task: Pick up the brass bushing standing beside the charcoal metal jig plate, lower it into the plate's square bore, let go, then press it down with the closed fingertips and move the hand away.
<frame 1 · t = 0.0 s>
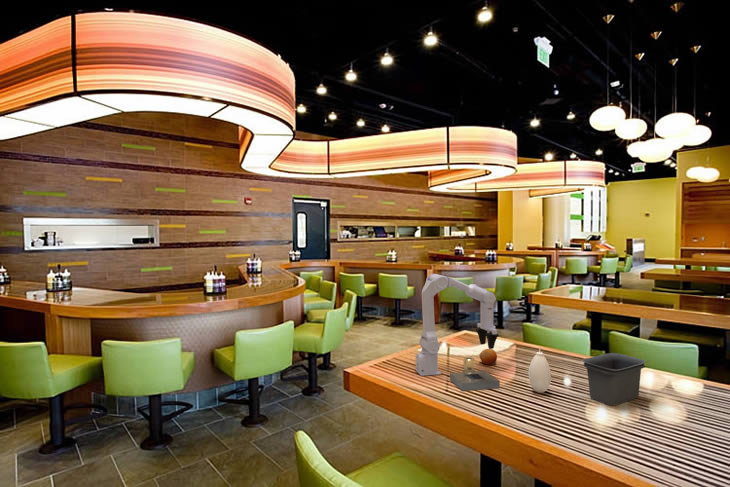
hand: (486, 346, 180), 10 cm above the table, tool pointing down, fingers open, 7 cm apart
fruit: (488, 363, 187), on the table
jig: (474, 383, 160), on the table
bushing: (468, 374, 172), on the table
storage bin: (611, 398, 146), on the table
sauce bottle: (539, 392, 152), on the table
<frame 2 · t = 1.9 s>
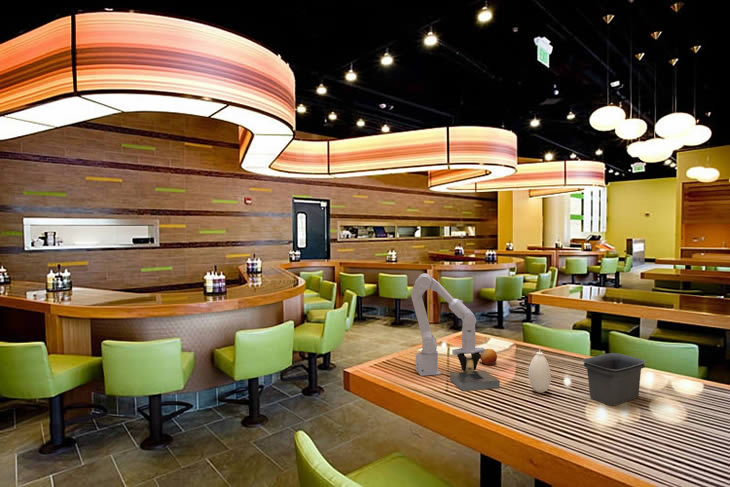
hand: (468, 370, 172), 2 cm above the table, tool pointing down, fingers closed on bushing, 4 cm apart
bushing: (468, 374, 172), on the table, touching gripper
everything else where it was.
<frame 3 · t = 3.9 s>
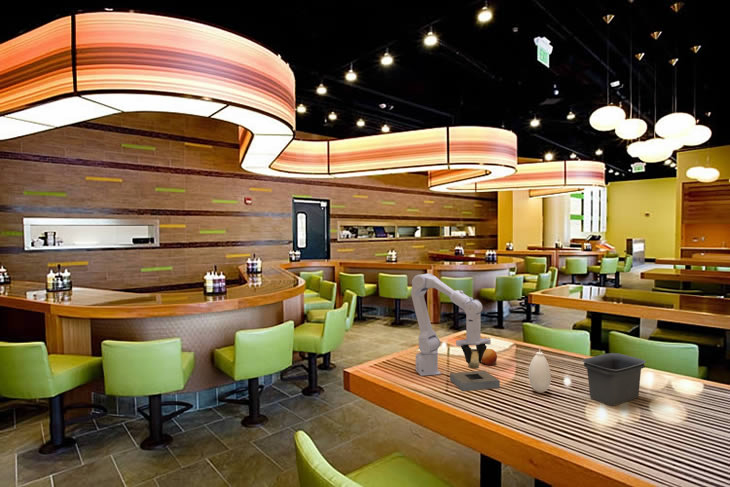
hand: (473, 362, 162), 8 cm above the table, tool pointing down, fingers closed on bushing, 4 cm apart
bushing: (473, 366, 162), point 7 cm above the table, touching gripper
everything else where it was.
when the fingers open (4 cm above the table, at t = 6.0 s): bushing drops 2 cm, resting in jig.
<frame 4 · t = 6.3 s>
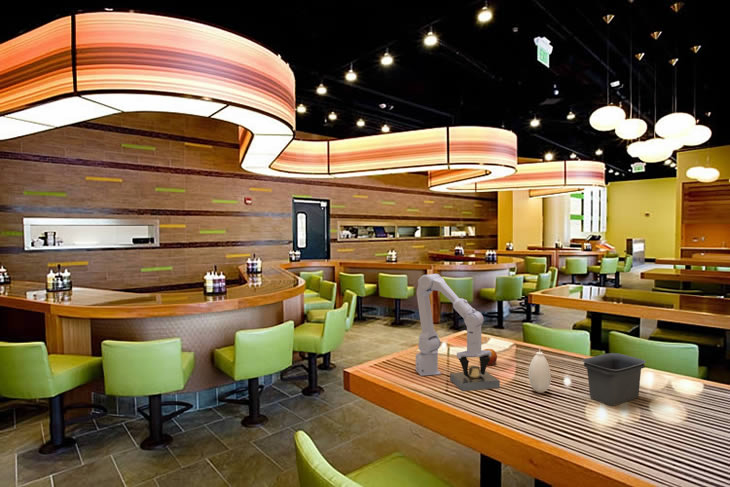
hand: (474, 374, 160), 4 cm above the table, tool pointing down, fingers open, 7 cm apart
bushing: (474, 383, 160), resting in jig
everything else where it was.
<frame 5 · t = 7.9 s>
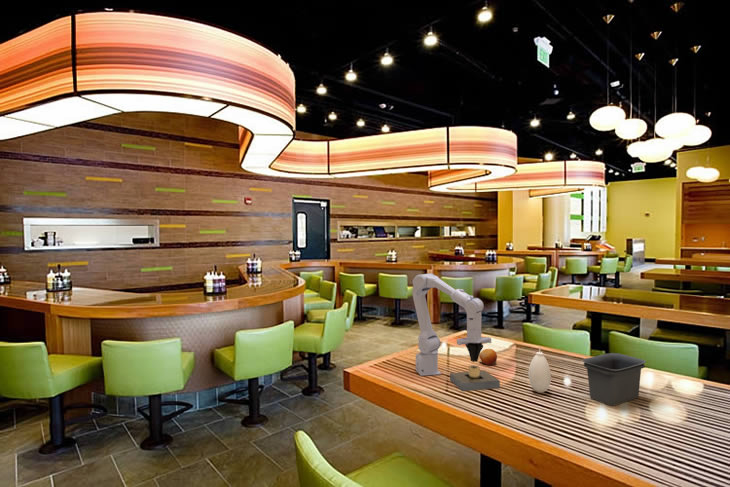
hand: (474, 361, 160), 9 cm above the table, tool pointing down, fingers closed
nothing on the table moved.
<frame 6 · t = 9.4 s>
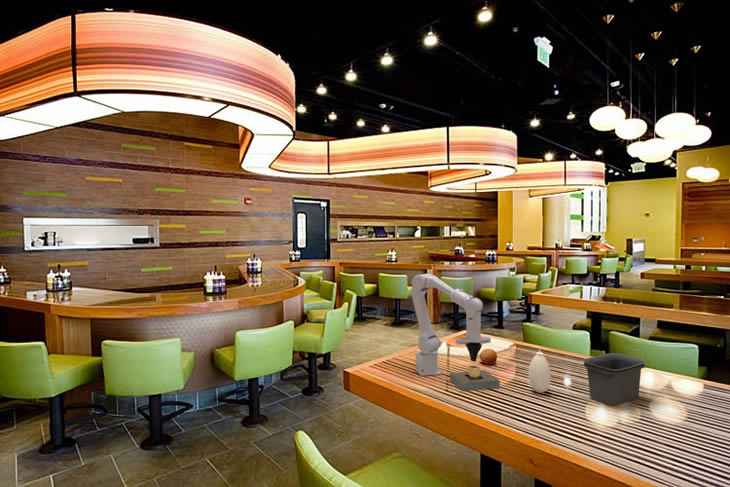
hand: (473, 360, 161), 9 cm above the table, tool pointing down, fingers closed
nothing on the table moved.
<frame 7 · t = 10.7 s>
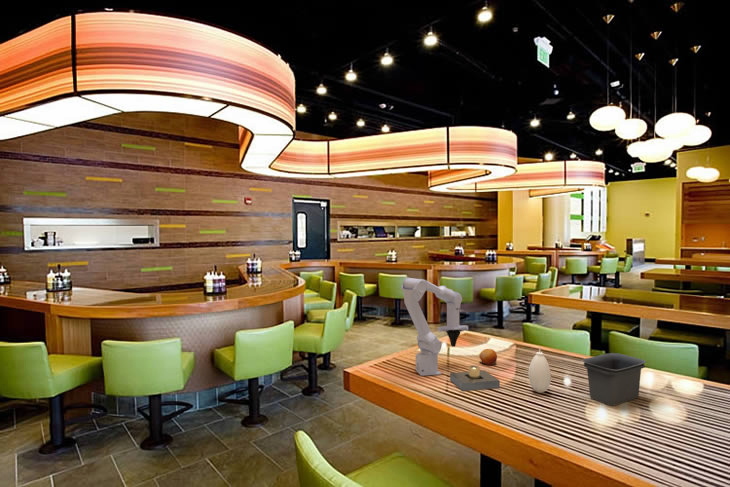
hand: (453, 346, 183), 9 cm above the table, tool pointing down, fingers closed
nothing on the table moved.
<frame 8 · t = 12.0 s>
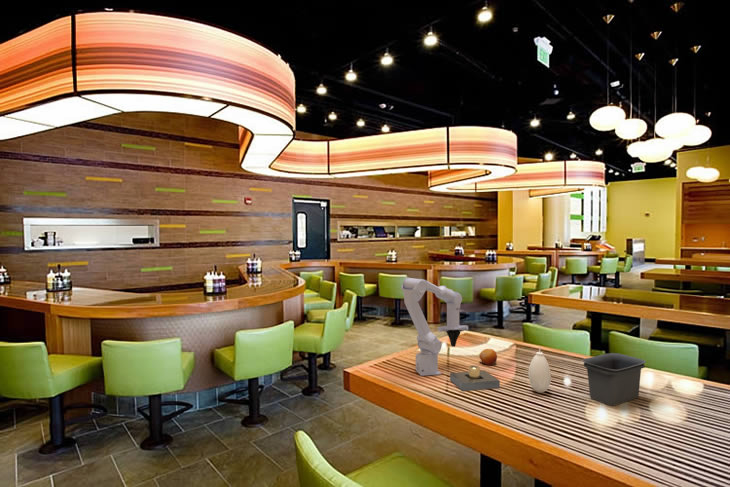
hand: (453, 346, 183), 9 cm above the table, tool pointing down, fingers closed
nothing on the table moved.
at the end: bushing 0.0 cm off-centre on the jig, point 0.0 cm above the jig's base; bushing tilted 0°; the gripper is holding nothing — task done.
